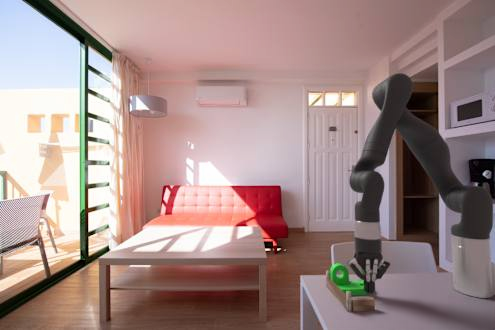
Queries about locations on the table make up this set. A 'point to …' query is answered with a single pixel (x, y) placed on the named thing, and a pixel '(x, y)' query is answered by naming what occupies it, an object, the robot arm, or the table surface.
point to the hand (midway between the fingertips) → (369, 292)
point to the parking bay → (349, 297)
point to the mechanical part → (346, 281)
